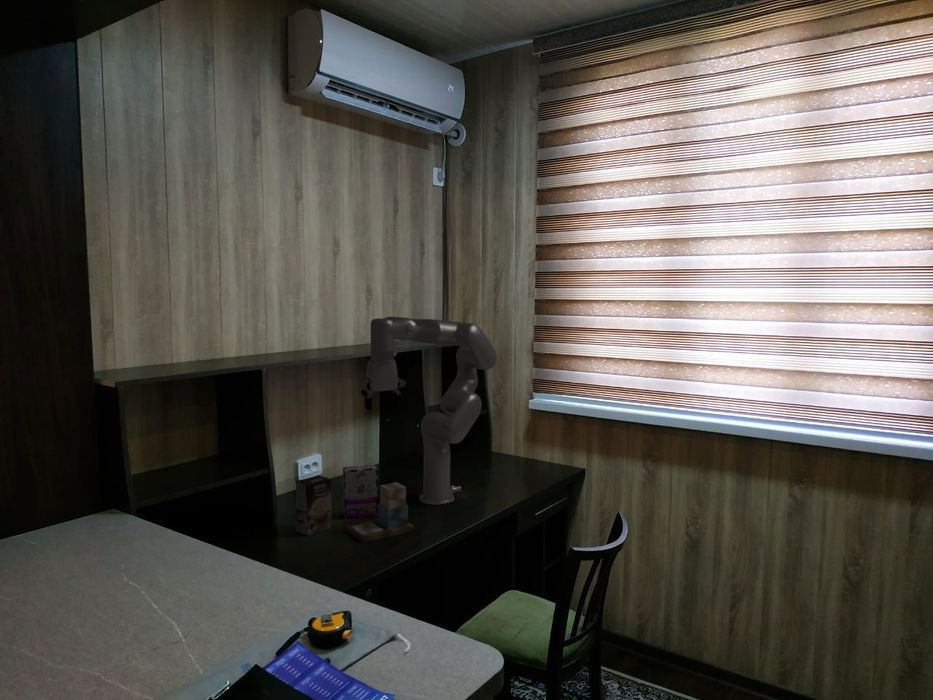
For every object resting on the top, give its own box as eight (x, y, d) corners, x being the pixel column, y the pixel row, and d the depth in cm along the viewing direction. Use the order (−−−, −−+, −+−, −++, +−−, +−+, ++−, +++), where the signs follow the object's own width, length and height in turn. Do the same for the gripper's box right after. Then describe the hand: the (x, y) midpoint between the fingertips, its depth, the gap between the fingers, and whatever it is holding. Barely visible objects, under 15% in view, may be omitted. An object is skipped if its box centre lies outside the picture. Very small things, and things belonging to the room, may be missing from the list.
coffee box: (308, 536, 206) (307, 485, 204) (295, 531, 210) (294, 480, 208) (332, 528, 213) (331, 478, 211) (319, 523, 217) (318, 474, 215)
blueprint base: (396, 519, 221) (396, 497, 220) (414, 530, 211) (414, 507, 210) (345, 530, 211) (345, 507, 210) (362, 542, 201) (362, 518, 200)
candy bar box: (376, 511, 228) (376, 464, 227) (378, 516, 224) (378, 468, 222) (342, 514, 225) (342, 466, 224) (344, 519, 221) (343, 470, 219)
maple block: (396, 500, 217) (396, 482, 216) (405, 505, 212) (405, 487, 211) (380, 503, 214) (379, 485, 213) (389, 509, 209) (389, 490, 208)
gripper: (399, 354, 227) (399, 404, 229) (352, 356, 218) (353, 408, 219) (410, 356, 221) (410, 407, 223) (363, 358, 211) (363, 412, 213)
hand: (382, 408), depth 221 cm, fingers open, 9 cm apart
